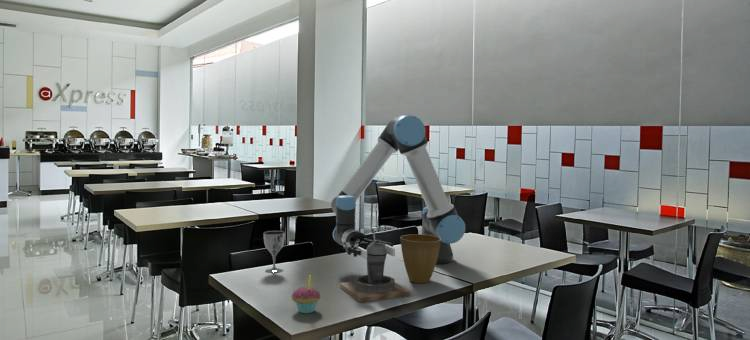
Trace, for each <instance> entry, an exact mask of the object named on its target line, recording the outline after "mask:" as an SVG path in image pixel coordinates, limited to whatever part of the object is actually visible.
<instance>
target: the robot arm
mask: <svg viewBox="0 0 750 340" xmlns="http://www.w3.org/2000/svg"><path fill="white" fill-rule="evenodd" d="M423 122H424V121H422V120H421V118H419V117H418V116H416V115H412V114H404V115H398V116H395V117H393V118H391V120H390V121H389V122H388V123H387V124H386V126H385V128H384V129H383V130H382V132H381V133H380V135H379V136H378V138H377V143H376V144H375V145H374V147H373V148H372V150H370V152H369V153H368V155H367V156H366V158H364V160H363V162H362V163H361V164H360V165H359V167H358V168H357V169H356V171H355V172H354V174H353V175H352V176H351V177H350V179H349V180H348V181H347V183H346V184H345V185H344V186H343V188H342V189H341V191H340V192H339V193H338V194H337V196H335V197H333V199H332V200H331V203H330V206H331V211H332V212H333V214H335V227H334V229H333V231H332V238H333V240H334V241H335V242H336V243H337V244H338V245H340V246H343V247H342V249H343V250H345V252H346V254H347V255H348V256H349V255H350V256H351V255H352V254H353V257H361V258H362V259H364V260H367V247H368V245H369V244H370V243H372V242H374V239H373V240H372V239H369V238H368V237H367V235H366V234H365V233H363V232H361V231H359V230H356V211H357V209H356V208H357V207H356V206H357V203H356V202H357V201H358V200H359V198H360V197H361V196H362V194H363V193H364V192H365V191H366V189H367V187H369V185H370V184H371V182H372V181H373V180H374V178H375V177H376V176H377V174H379V171H380V170H381V169H382V168H383V167H384V165H385V163H386V162H388V161H389V159H390V157H391V156H392V154H395V153H397V152H399V153H400V155H402V156H404V157H405V158H406V160H407V162H408V165H409V167H410V169H411V173H412V175H413V177H414V179H415V183H416V184H417V186H418V188H419V189H418V190H420V194H421V196H422V198H423V201H424V203H425V207H423V208H422V214H421V216H422V228H421V229H422V230H421V232H422V233H421V234H423V235H432V236H437V237H440V238H441V244H440V249H439V254H438V258H437V261H436V265H437V264H449V263H452V262H454V254H453V253H454V252H453V250H452V247H451V244H455V243H457V242H459V241H460V240H461V239H462V238H463V237H464V235H465V232H466V223H465V221H464V220H463V218H461V216H459V215H458V212H457V210H456V208H455V206H454V204H452V203H451V202H449V201H448V199H447V195H446V194H445V191H444V188H443V186H442V184H441V181H440V179H439V177H438V174H437V171H436V169H435V167H434V164H433V162H432V159H431V157H430V154H429V152H428V149H427V146H428V144H429V142H428V139H427V137H426V126H425V124H424V123H423ZM375 241H378V242H381V243H382V244H383V245H384V246H385V248H386V253H387V255H389V256H392V257H396V248H395V247H394V243H392V242H390V241H388V242H387V241H384V240H380V239H378V238H375Z"/></svg>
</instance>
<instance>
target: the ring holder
mask: <svg viewBox="0 0 750 340" xmlns="http://www.w3.org/2000/svg"><path fill="white" fill-rule="evenodd" d="M339 285H340V287H339V288H341V289H342V290H343V291H344V292H345V293H347V294H348V295H350V296H351V297H352V298H353V299H355V300H356V301H357V302H358V303H367V302H375V301H382V300H391V299H397V298H406V297H410V296H411V291H410V290H408V289H407V288H405V287H403V286H401V285H400V284H398V283H396V282H395V278H394V277H391V276H390V275H389V276H388V275H384V274H383V280H382V284H379V285H372V284H368V274H364V275H360V276H357V277H355V278H354V281H347V282H340V284H339Z"/></svg>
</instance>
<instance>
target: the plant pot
mask: <svg viewBox="0 0 750 340" xmlns="http://www.w3.org/2000/svg"><path fill="white" fill-rule="evenodd" d="M399 237H400V245H401V248H400V249H401V253H402V254H401V255H402V258H403V259H402V260H403V263H404V267H405V271H406V274H407V278H408V280H409V282H412V283H416V284H427V283H429V282H430V281H431V279H432V275H433V273H434V271H435V267H436V265H437V264H436V261H437V258H438V254H439V249H440V244H441V238H440V237H437V236H432V235H423V234H422V233H420V234H418V233H417V234H415V233H414V234H405V235H404V234H403V235H401V236H399Z"/></svg>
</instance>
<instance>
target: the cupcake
mask: <svg viewBox="0 0 750 340" xmlns="http://www.w3.org/2000/svg"><path fill="white" fill-rule="evenodd" d="M311 281H312V272H310V273H309V275H308V280H307V286H302V287H299V288H297V289H295V290H294V291H293V292H292V294H291V300H292V301H293V302H294V303H295V304H296V307H297V310H298V312H299V313H301V314H311V313H313V312H315V310H316V307H317V304H318V302H319V300H320V299H321V294H320V291H319V290H318V289H317V288H314V287H311Z"/></svg>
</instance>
